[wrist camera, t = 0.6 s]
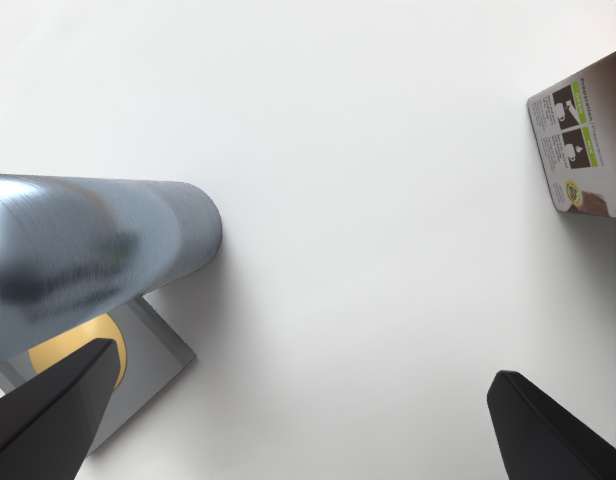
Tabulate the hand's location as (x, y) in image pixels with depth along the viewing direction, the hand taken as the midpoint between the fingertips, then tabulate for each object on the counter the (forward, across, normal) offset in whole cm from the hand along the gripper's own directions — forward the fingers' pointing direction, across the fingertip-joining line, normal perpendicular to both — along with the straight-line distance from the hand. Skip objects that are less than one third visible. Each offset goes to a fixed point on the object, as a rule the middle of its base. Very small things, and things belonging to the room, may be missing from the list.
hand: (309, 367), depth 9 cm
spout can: (+14, +8, +4) cm, 17 cm away
